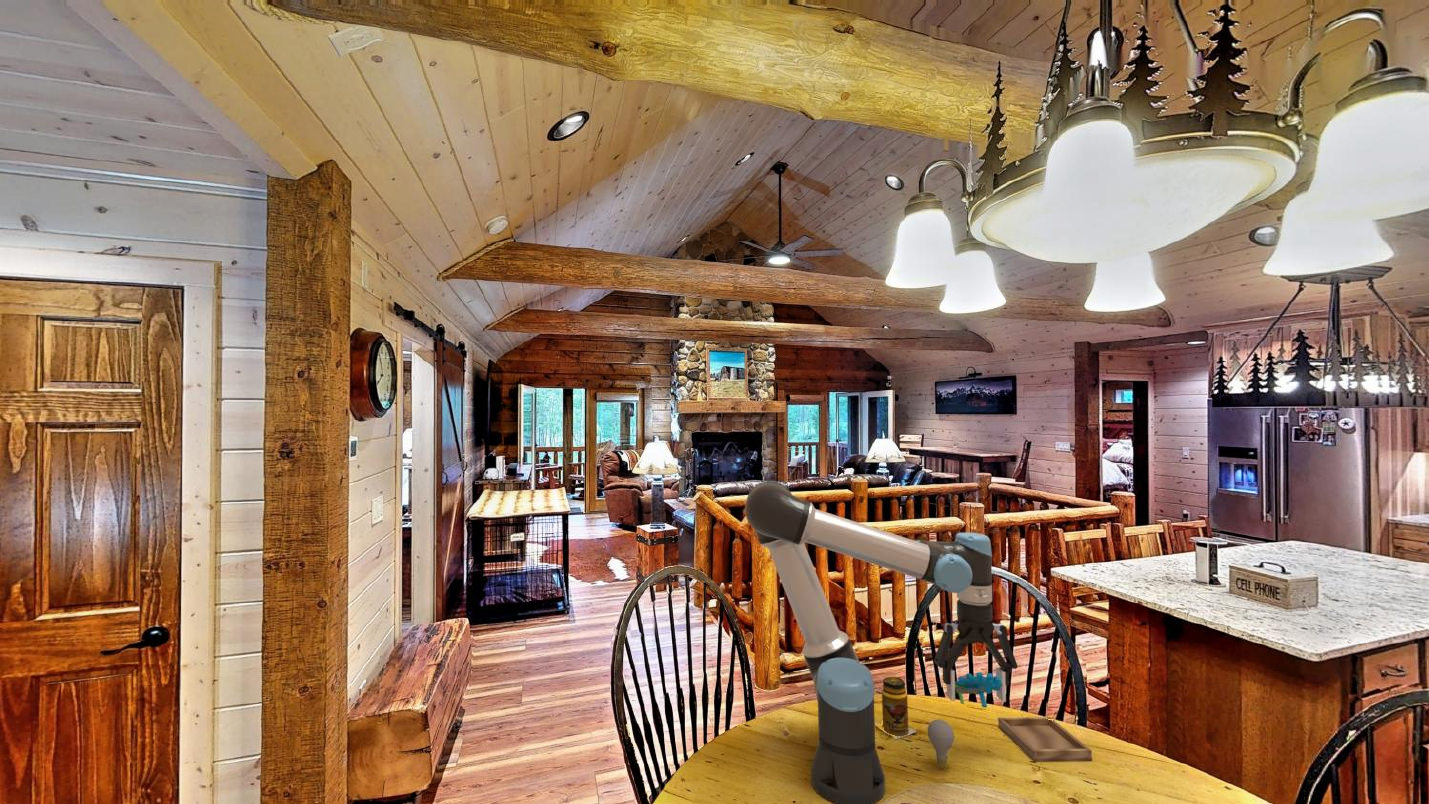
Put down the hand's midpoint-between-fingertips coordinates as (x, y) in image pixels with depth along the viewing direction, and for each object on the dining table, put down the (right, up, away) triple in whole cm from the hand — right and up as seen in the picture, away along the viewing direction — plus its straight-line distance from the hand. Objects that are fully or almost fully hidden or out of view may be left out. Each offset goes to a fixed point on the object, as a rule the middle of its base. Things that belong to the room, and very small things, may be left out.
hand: (976, 698), depth 126 cm
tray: (+18, -13, +4) cm, 22 cm away
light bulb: (-10, -12, -6) cm, 17 cm away
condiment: (-16, -14, +11) cm, 23 cm away
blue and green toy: (0, -1, 0) cm, 1 cm away
